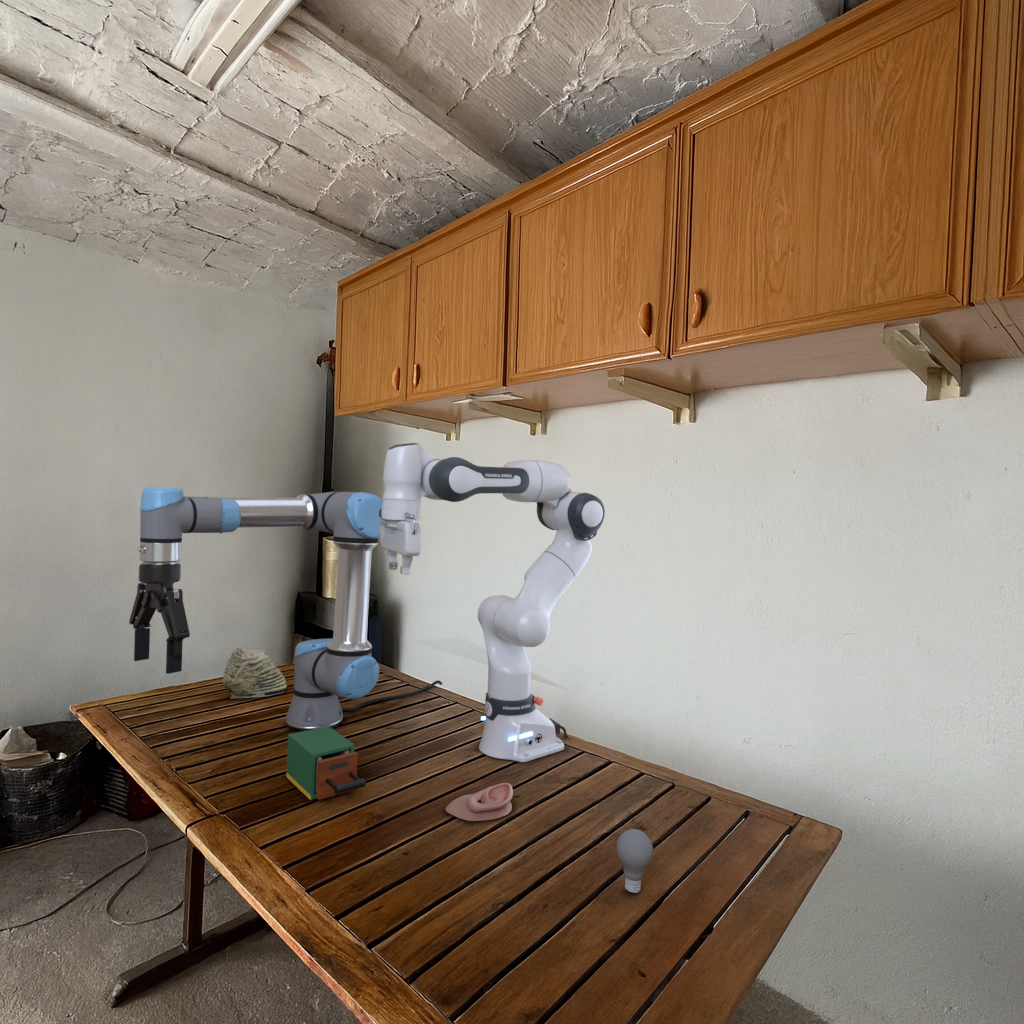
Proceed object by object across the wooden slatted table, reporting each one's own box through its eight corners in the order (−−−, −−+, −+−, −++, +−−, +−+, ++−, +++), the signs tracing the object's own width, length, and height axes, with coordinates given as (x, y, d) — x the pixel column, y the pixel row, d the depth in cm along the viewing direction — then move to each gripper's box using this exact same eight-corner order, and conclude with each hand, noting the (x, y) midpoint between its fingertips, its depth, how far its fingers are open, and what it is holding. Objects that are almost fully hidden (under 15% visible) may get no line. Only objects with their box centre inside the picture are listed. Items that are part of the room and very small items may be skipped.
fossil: (218, 695, 195) (220, 647, 195) (278, 685, 208) (279, 640, 207) (228, 703, 189) (230, 653, 188) (289, 692, 201) (290, 645, 201)
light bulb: (610, 879, 108) (613, 822, 108) (644, 879, 109) (647, 822, 109) (619, 902, 102) (622, 840, 102) (655, 901, 103) (658, 840, 103)
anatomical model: (441, 797, 127) (457, 773, 138) (440, 817, 127) (456, 791, 138) (505, 806, 124) (517, 781, 136) (504, 826, 124) (516, 800, 136)
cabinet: (353, 788, 138) (354, 744, 138) (310, 800, 132) (312, 754, 132) (326, 766, 149) (328, 725, 148) (286, 776, 142) (287, 734, 142)
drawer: (369, 800, 131) (371, 763, 131) (331, 812, 126) (332, 773, 126) (331, 769, 145) (332, 735, 145) (295, 778, 140) (296, 743, 140)
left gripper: (113, 558, 134) (110, 658, 134) (172, 569, 119) (168, 681, 120) (150, 556, 140) (147, 651, 140) (210, 567, 125) (207, 673, 126)
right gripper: (429, 514, 139) (426, 577, 139) (401, 511, 157) (399, 566, 158) (401, 513, 136) (398, 578, 136) (376, 510, 154) (374, 567, 155)
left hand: (157, 666), depth 130 cm, fingers open, 13 cm apart
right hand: (398, 572), depth 147 cm, fingers open, 8 cm apart
